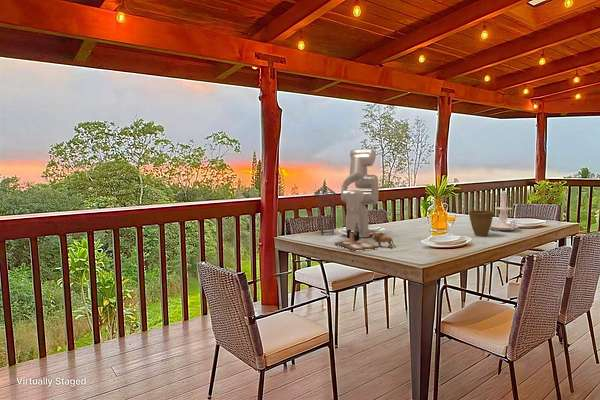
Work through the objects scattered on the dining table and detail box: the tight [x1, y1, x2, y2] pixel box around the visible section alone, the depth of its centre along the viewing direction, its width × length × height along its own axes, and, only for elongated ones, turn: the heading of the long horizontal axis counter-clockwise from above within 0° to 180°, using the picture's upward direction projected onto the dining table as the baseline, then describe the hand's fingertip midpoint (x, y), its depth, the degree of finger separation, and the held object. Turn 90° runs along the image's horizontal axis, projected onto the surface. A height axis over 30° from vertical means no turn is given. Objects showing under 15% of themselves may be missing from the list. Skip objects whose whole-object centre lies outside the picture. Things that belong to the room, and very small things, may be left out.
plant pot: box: [468, 210, 494, 237], centre depth 271 cm, size 15×15×16 cm
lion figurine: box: [371, 231, 397, 249], centre depth 245 cm, size 15×5×9 cm, turn 67°
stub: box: [343, 231, 365, 245], centre depth 251 cm, size 12×5×7 cm, turn 113°
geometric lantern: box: [313, 185, 337, 236], centre depth 293 cm, size 16×16×35 cm
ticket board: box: [334, 240, 379, 252], centre depth 249 cm, size 16×24×2 cm, turn 23°
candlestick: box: [490, 190, 520, 231], centre depth 285 cm, size 21×25×28 cm
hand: (353, 239), depth 251 cm, fingers open, 8 cm apart
